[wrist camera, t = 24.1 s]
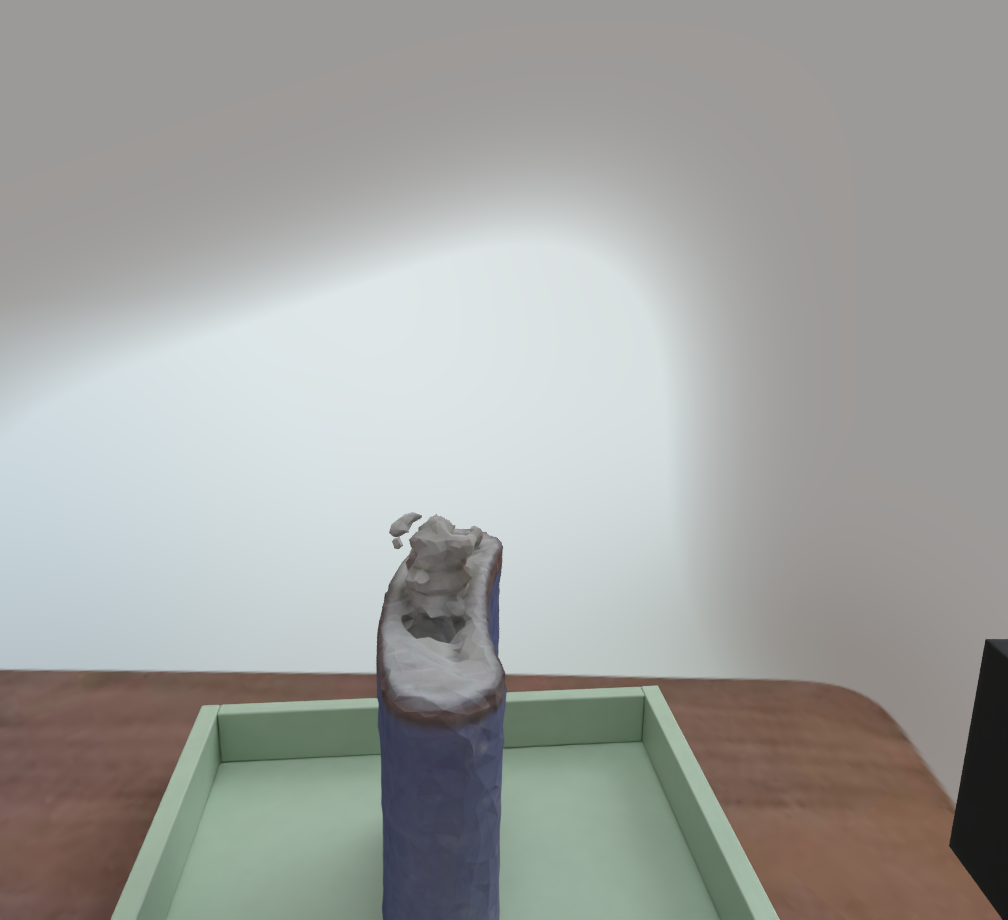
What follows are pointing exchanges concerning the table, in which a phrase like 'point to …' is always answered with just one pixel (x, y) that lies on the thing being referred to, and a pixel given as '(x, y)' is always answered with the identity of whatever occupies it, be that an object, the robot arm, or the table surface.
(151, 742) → the table surface
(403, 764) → the flask
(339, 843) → the tray
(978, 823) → the robot arm
